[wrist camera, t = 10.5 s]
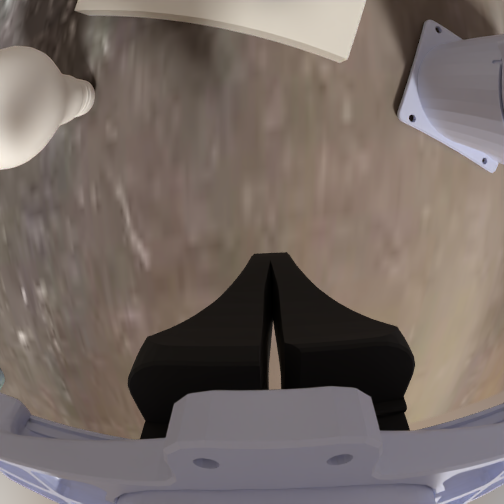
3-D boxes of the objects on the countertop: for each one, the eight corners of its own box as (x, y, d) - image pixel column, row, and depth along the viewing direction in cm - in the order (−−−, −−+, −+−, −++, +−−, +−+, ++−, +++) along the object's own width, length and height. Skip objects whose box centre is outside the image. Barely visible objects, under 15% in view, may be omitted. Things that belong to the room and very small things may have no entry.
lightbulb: (53, 62, 16) (-65, 66, 6) (127, 49, 16) (13, 25, 6) (52, 142, 19) (-61, 188, 9) (123, 138, 19) (12, 184, 9)
